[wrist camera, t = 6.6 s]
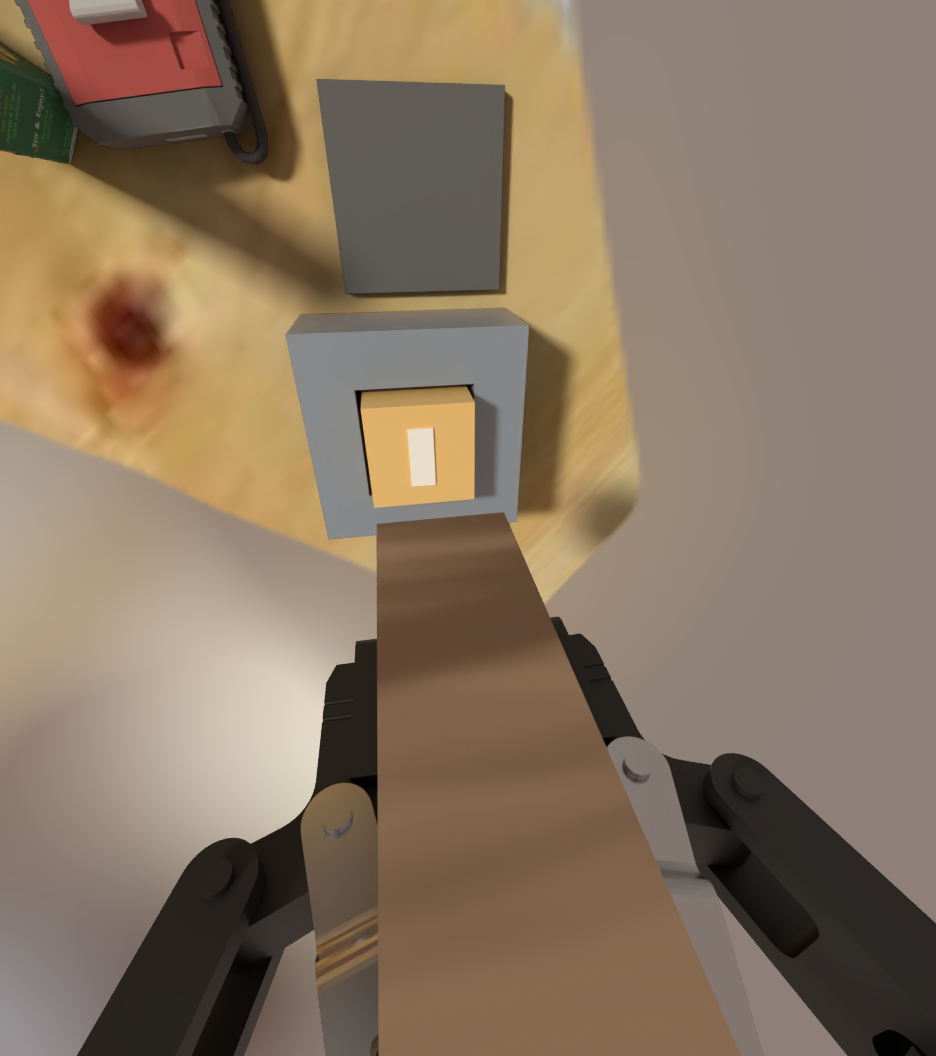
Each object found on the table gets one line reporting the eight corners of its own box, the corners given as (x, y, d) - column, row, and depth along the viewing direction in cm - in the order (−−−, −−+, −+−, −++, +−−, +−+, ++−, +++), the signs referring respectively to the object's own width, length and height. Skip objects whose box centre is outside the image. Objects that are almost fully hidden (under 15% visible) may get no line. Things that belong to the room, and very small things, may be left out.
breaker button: (362, 382, 24) (360, 409, 21) (461, 377, 25) (475, 402, 22) (374, 472, 27) (374, 508, 24) (462, 465, 28) (474, 500, 24)
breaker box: (300, 314, 24) (285, 334, 20) (504, 307, 26) (529, 325, 22) (334, 496, 31) (328, 539, 27) (498, 482, 32) (516, 521, 28)
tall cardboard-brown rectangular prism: (376, 523, 14) (379, 1200, 4) (503, 511, 15) (757, 1093, 5) (389, 618, 17) (410, 1209, 7) (499, 605, 17) (669, 1133, 7)
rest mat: (317, 82, 20) (316, 78, 19) (501, 88, 21) (505, 84, 20) (346, 291, 24) (345, 293, 24) (496, 287, 25) (498, 289, 25)
